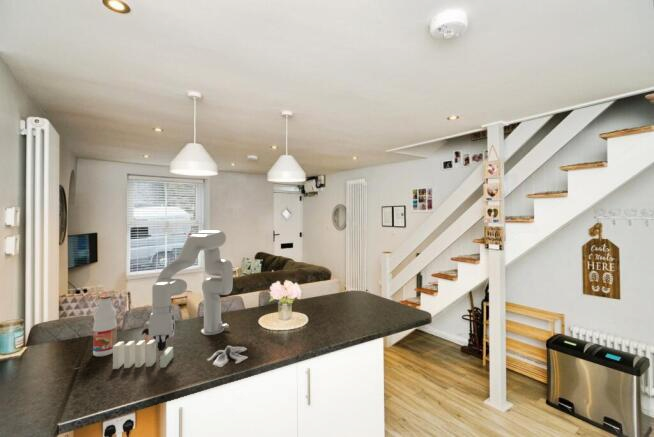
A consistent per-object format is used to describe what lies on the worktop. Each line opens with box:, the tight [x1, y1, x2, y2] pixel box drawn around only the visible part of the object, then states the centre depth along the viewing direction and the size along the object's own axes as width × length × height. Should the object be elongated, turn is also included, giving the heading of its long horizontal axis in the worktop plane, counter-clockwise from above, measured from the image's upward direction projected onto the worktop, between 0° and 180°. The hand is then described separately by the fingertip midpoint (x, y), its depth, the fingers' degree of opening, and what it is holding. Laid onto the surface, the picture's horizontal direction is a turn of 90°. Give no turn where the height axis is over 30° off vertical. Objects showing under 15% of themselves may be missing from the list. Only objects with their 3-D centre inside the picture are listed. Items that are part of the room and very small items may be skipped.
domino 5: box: [159, 346, 174, 368], centre depth 138 cm, size 2×5×10 cm
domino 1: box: [112, 340, 125, 370], centre depth 134 cm, size 2×5×10 cm, turn 9°
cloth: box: [206, 345, 249, 368], centre depth 143 cm, size 22×19×6 cm
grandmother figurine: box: [140, 321, 154, 344], centre depth 156 cm, size 8×4×13 cm, turn 117°
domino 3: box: [134, 339, 146, 368], centre depth 136 cm, size 2×5×10 cm, turn 9°
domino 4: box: [145, 339, 157, 368], centre depth 136 cm, size 2×5×10 cm, turn 9°
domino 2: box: [123, 340, 136, 369], centre depth 135 cm, size 2×5×10 cm, turn 9°
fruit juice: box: [92, 294, 118, 357], centre depth 148 cm, size 9×9×28 cm
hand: (161, 349), depth 137 cm, fingers closed
